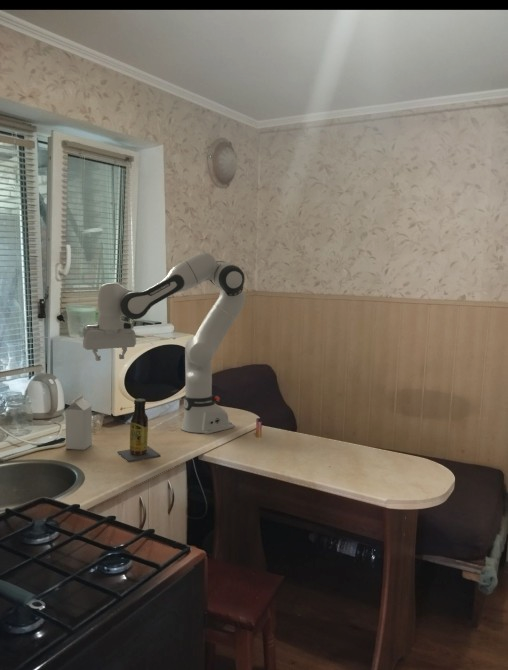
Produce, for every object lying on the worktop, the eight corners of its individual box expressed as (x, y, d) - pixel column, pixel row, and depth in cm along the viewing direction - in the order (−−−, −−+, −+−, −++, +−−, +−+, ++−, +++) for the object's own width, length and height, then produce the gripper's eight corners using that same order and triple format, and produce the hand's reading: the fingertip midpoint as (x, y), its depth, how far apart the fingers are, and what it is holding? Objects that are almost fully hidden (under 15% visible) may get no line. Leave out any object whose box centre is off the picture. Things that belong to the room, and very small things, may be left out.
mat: (148, 447, 205) (148, 446, 205) (160, 456, 196) (160, 454, 196) (117, 452, 199) (117, 451, 199) (128, 462, 190) (128, 460, 190)
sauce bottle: (126, 453, 197) (125, 399, 194) (138, 449, 202) (138, 396, 199) (139, 457, 193) (139, 402, 191) (151, 452, 198) (151, 399, 196)
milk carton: (92, 444, 208) (91, 395, 205) (84, 450, 201) (83, 399, 198) (74, 443, 208) (73, 394, 206) (65, 449, 201) (64, 398, 199)
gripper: (85, 326, 203) (85, 362, 205) (137, 324, 215) (137, 359, 216) (80, 324, 209) (80, 360, 210) (131, 322, 220) (131, 356, 222)
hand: (109, 359), depth 213 cm, fingers open, 8 cm apart
